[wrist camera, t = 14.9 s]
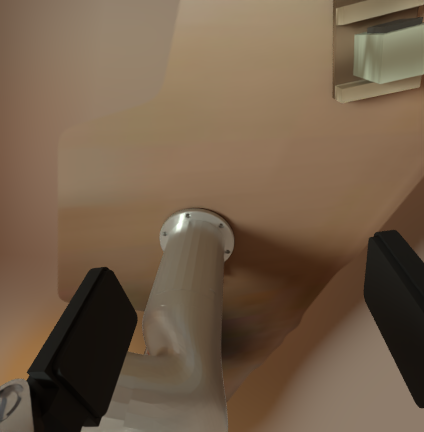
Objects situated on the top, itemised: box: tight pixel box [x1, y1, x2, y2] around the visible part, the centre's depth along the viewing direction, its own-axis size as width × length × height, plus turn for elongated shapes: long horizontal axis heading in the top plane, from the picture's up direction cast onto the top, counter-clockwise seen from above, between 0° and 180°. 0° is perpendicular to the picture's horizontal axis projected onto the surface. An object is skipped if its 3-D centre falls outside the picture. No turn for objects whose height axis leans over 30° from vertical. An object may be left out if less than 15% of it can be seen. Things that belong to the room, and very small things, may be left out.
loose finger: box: [353, 17, 424, 84], centre depth 28 cm, size 4×4×7 cm
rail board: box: [333, 0, 424, 103], centre depth 26 cm, size 16×8×8 cm, turn 13°
